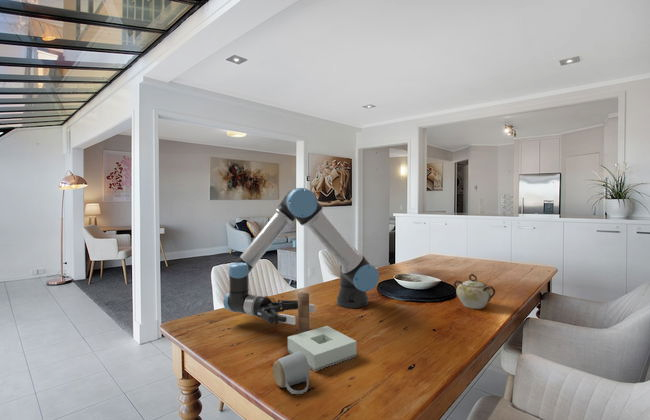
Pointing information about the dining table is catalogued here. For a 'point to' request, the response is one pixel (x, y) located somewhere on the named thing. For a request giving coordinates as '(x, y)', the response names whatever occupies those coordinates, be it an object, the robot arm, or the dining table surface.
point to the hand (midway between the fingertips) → (305, 314)
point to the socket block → (323, 347)
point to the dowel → (303, 312)
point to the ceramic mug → (292, 371)
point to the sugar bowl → (473, 293)
